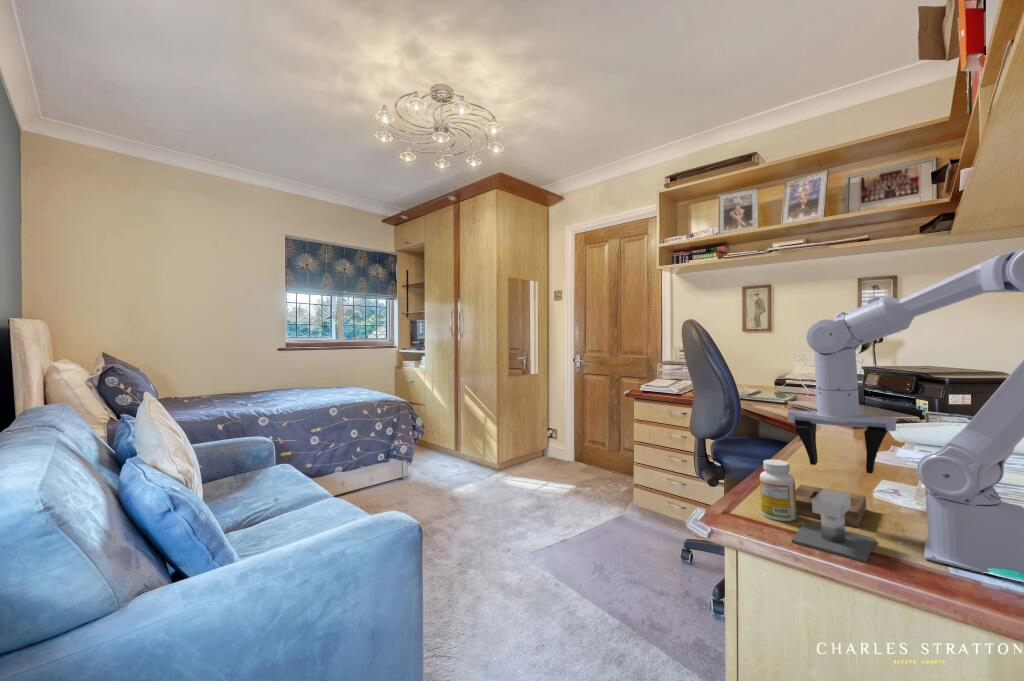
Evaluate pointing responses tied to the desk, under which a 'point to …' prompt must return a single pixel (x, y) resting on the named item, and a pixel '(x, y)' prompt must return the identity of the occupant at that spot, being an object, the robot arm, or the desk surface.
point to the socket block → (805, 508)
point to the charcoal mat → (851, 548)
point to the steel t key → (832, 513)
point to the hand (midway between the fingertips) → (840, 467)
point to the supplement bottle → (777, 491)
